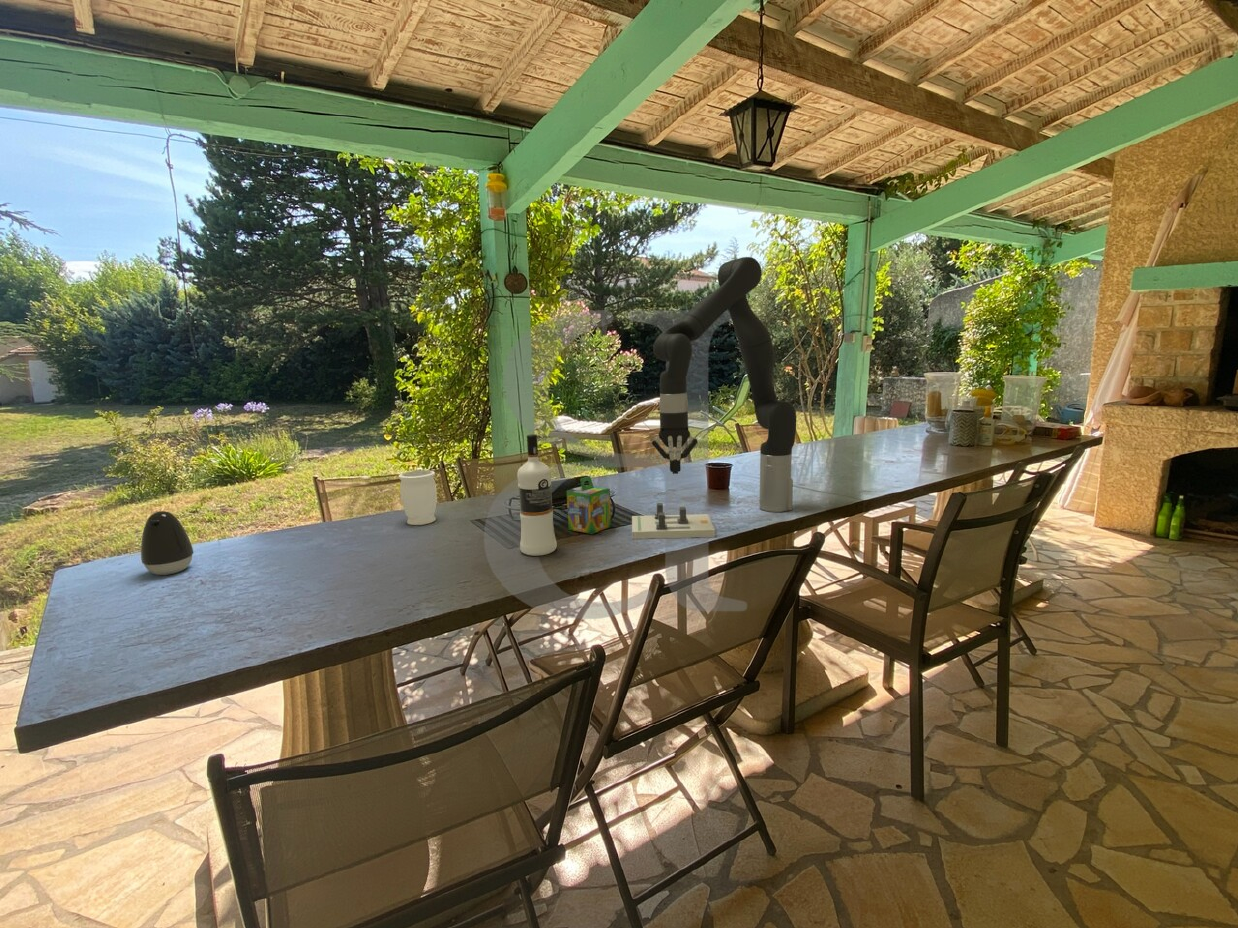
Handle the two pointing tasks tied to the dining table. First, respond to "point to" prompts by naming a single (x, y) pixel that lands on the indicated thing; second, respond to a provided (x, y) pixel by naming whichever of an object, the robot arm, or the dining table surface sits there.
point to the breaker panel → (672, 527)
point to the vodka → (535, 504)
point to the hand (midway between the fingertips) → (675, 473)
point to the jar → (418, 496)
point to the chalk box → (588, 508)
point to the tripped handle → (682, 515)
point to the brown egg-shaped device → (165, 544)
